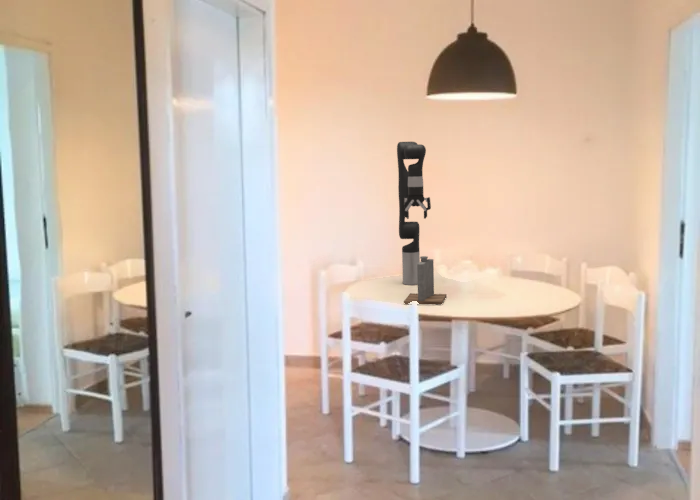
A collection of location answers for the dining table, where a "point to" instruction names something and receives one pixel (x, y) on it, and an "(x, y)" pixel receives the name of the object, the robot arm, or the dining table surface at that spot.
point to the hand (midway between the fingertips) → (416, 218)
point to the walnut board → (430, 300)
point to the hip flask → (425, 278)
